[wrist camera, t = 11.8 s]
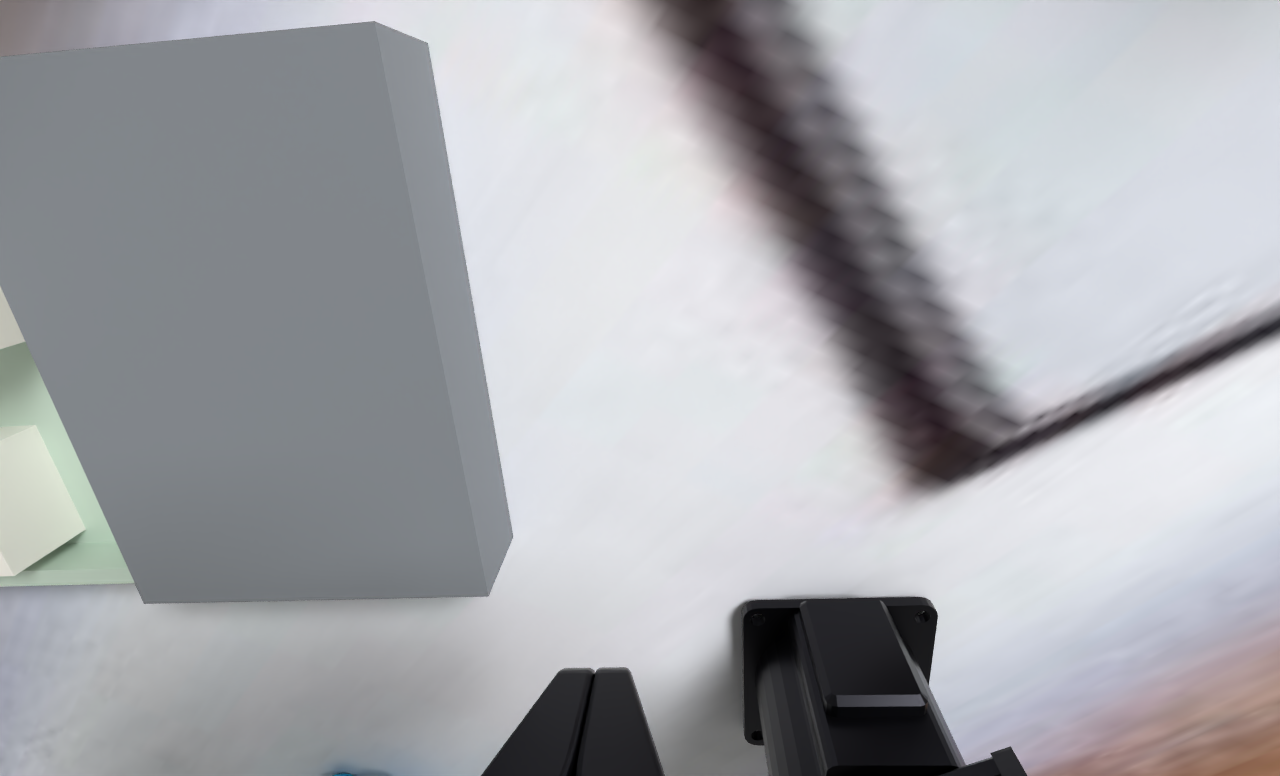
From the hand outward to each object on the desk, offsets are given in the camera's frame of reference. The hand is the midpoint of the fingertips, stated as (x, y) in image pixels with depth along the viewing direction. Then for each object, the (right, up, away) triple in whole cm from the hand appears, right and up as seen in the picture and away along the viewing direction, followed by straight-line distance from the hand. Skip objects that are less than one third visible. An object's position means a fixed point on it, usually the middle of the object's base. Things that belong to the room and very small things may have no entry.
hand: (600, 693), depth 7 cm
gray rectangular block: (-10, +5, +11) cm, 16 cm away
